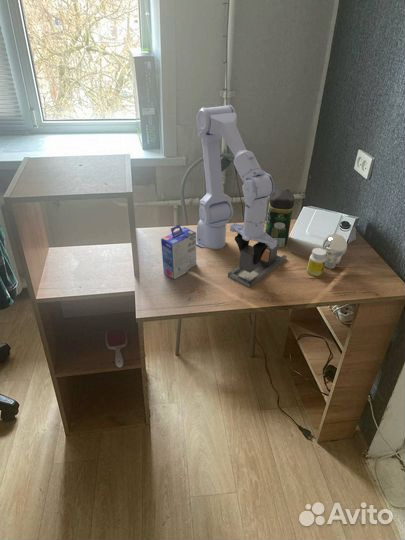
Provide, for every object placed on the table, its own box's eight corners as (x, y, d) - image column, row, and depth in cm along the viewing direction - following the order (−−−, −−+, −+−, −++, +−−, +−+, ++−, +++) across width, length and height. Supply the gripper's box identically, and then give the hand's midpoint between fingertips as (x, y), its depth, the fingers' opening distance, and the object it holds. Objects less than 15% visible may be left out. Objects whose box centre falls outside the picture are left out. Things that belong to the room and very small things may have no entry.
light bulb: (313, 268, 122) (321, 235, 115) (324, 259, 127) (332, 227, 120) (333, 278, 119) (342, 244, 112) (344, 268, 123) (353, 235, 116)
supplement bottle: (322, 280, 118) (328, 256, 113) (306, 277, 118) (311, 254, 114) (321, 271, 122) (327, 248, 117) (306, 269, 122) (310, 246, 117)
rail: (227, 279, 117) (228, 273, 116) (264, 252, 129) (265, 246, 128) (249, 290, 113) (250, 284, 111) (285, 261, 125) (286, 256, 124)
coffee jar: (264, 234, 139) (270, 185, 129) (286, 236, 138) (295, 187, 128) (263, 248, 131) (270, 197, 121) (287, 251, 131) (296, 199, 120)
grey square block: (239, 267, 115) (240, 250, 112) (248, 261, 118) (250, 244, 115) (250, 272, 113) (252, 255, 110) (259, 266, 116) (261, 249, 112)
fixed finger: (257, 261, 123) (259, 245, 120) (265, 256, 126) (267, 240, 122) (267, 266, 121) (270, 250, 117) (275, 260, 124) (278, 244, 120)
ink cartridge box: (184, 259, 125) (184, 219, 117) (197, 266, 122) (198, 225, 114) (161, 272, 119) (159, 231, 111) (174, 280, 116) (173, 238, 108)
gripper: (224, 214, 108) (222, 256, 116) (269, 233, 100) (263, 275, 108) (240, 206, 112) (236, 246, 120) (283, 223, 104) (277, 265, 112)
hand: (250, 260), depth 114 cm, fingers closed on grey square block, 4 cm apart
